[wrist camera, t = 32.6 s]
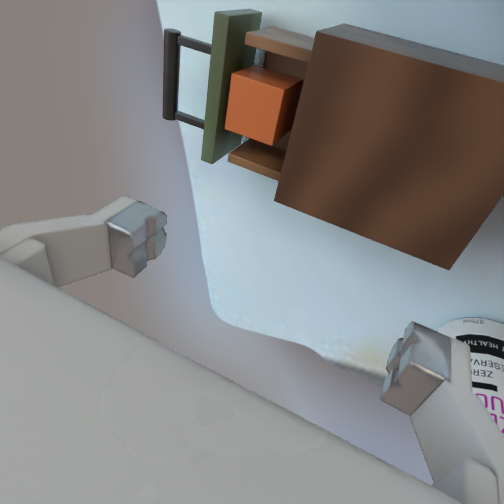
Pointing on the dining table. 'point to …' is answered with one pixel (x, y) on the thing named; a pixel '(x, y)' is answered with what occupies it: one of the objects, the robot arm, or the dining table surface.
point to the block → (262, 103)
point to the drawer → (221, 68)
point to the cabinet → (397, 142)
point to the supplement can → (483, 360)
